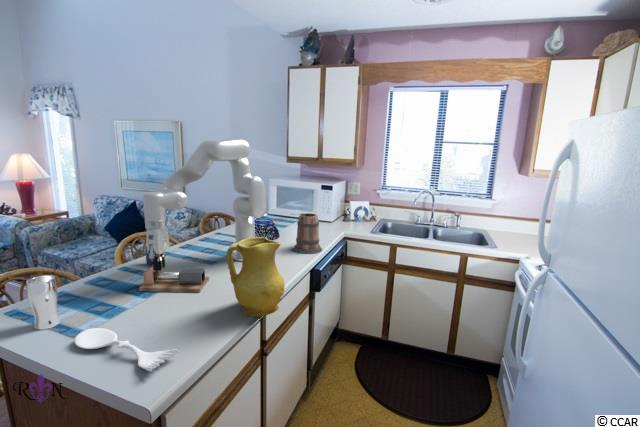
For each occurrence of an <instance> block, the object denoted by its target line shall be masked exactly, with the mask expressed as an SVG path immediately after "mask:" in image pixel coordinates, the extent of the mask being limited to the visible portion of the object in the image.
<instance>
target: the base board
mask: <svg viewBox="0 0 640 427" xmlns="http://www.w3.org/2000/svg"><path fill="white" fill-rule="evenodd" d="M209 281H210V276H205V281H204V282H203V284H202V285H180V283H179V280H157V281H156V282H155V283H154V284H144V283H143V284H142V285H140V287H138V290H139V291H145V292H147V293H148V292H149V293H150V292H152V293H155V292H156V293H161V292H162V293H201V292H202V290H203V289H204V288H205V286H206V285H207V284H208V282H209ZM139 291H138V292H139Z"/></svg>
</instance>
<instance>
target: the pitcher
mask: <svg viewBox="0 0 640 427" xmlns="http://www.w3.org/2000/svg"><path fill="white" fill-rule="evenodd" d="M281 245H282V244H281V243H280V242H279V241H276V240H268V239H267V236H266V237H263V236H261V237H260V236H259V237H257V236H256V237H253V238H247V239H243V240H241V241H239V242H238V243H236V242H233V243H232V244H230V245H229V247H228V248H227V250H226V259H227V263H226V264H227V266H228V267H227V268H228V271H229V275H230V282H231V284H232V285H233V290H234V293H235V298H236V301H237V302H238V304H239V305H241V306H242V309H241V310H242V311H243V313H244V314H245V315H247V316H248V317H249V316H250V317H253V318H254V317H257V318H260V317H264V316H265V317H266V316H268V315H271V314H274V313H276V312H277V311H278V309H279V305H278V304H279V303H280V302H281V301H282V300H283V299H282V297H283V295H285V294H284V293H285V280H284V278H283V275H282V274H281V273H280V271H279V269H278V267H277V264H276V258H275V257H276V252H277V250H278V249H279V248H280V246H281ZM234 251H235V252H236V251H239V252H240V254H241V255H242V256H243V261H241V263H242V264H241V268H240V271H239V273H237V271H236V266H235V262H234V259H233V253H234Z"/></svg>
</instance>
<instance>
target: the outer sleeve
mask: <svg viewBox="0 0 640 427" xmlns="http://www.w3.org/2000/svg"><path fill="white" fill-rule="evenodd" d="M205 277H206V268H197V267H196V268H195V267H194V268H193V267H190V268H189V267H183V268H182V269H181V270H180V271H179V283H180V285H202V284H203V282H204V281H205Z"/></svg>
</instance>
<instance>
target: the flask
mask: <svg viewBox="0 0 640 427" xmlns="http://www.w3.org/2000/svg"><path fill="white" fill-rule="evenodd" d="M154 253H155V252H154ZM149 255H150V254H148V253H147V245H146V244H145V261H146V265H147V266H153V261H152V259H150V258H149ZM155 256H157V255H155Z"/></svg>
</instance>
